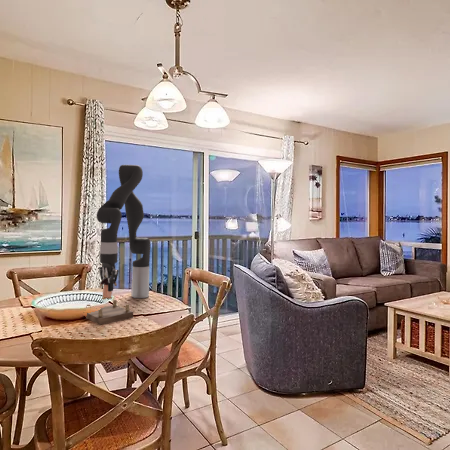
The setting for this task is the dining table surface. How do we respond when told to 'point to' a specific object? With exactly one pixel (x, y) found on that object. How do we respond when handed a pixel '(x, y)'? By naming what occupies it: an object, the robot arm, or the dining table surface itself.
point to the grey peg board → (110, 314)
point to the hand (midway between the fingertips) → (108, 290)
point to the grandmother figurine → (106, 288)
